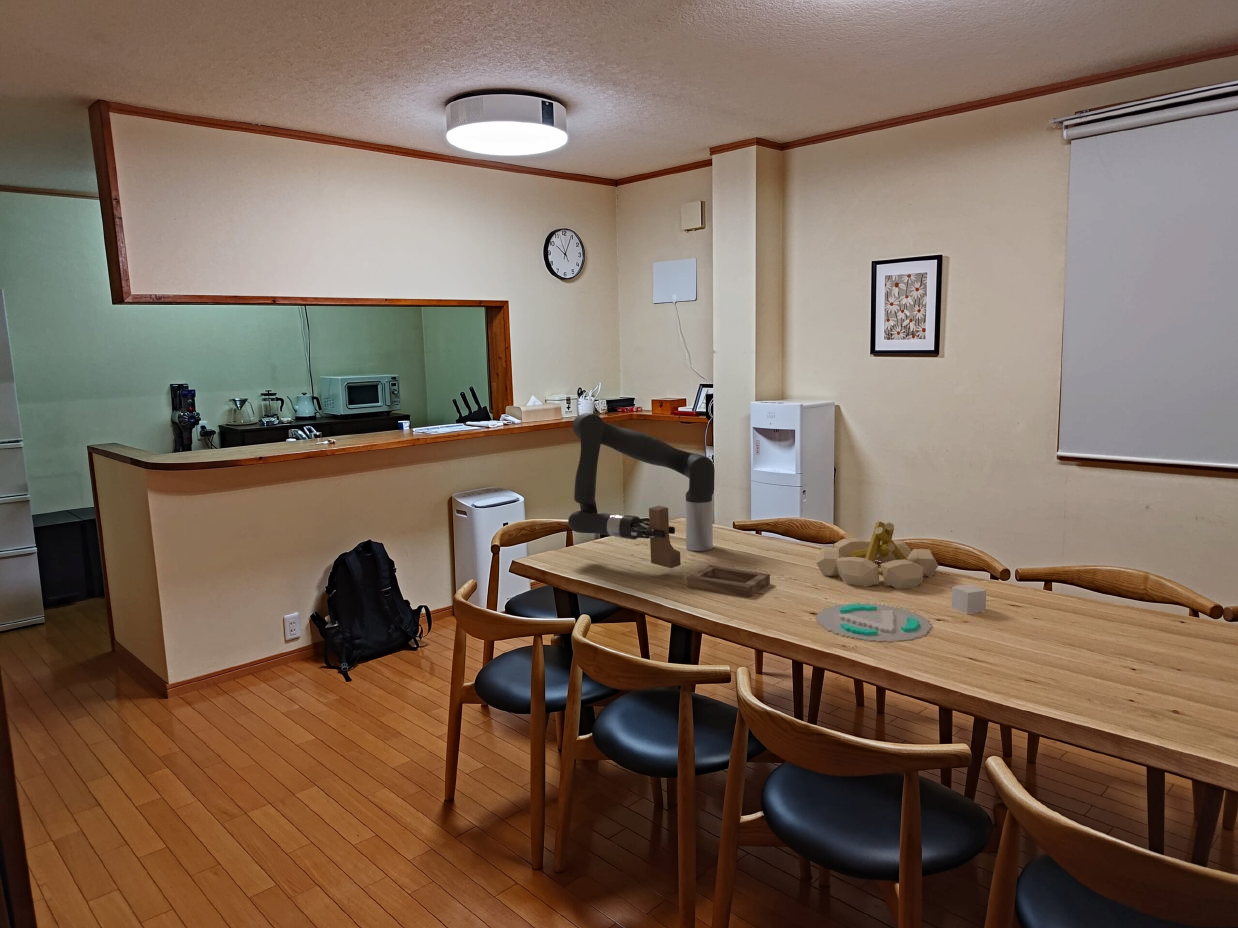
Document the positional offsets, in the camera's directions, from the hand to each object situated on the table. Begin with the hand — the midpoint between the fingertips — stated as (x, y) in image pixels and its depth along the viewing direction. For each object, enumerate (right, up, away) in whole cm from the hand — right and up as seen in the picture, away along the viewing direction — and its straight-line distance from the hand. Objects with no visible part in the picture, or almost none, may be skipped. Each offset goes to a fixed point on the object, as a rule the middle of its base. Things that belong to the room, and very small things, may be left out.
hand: (669, 532), depth 254 cm
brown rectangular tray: (+17, -15, -9) cm, 25 cm away
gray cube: (+78, -18, -35) cm, 87 cm away
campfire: (+64, -13, 0) cm, 65 cm away
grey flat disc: (+50, -20, -42) cm, 69 cm away
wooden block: (-1, -10, +3) cm, 11 cm away
